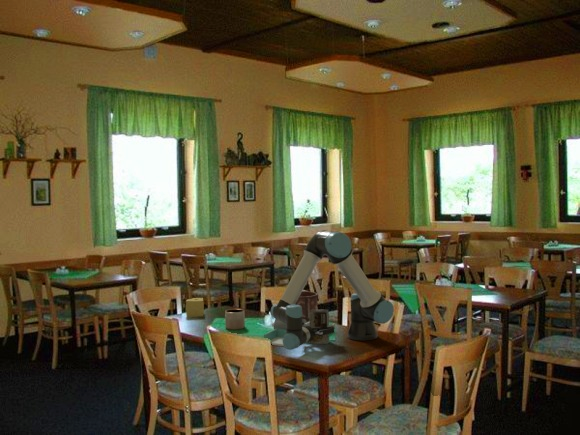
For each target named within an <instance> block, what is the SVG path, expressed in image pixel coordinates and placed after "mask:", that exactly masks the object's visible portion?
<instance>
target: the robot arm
mask: <svg viewBox="0 0 580 435" xmlns="http://www.w3.org/2000/svg"><path fill="white" fill-rule="evenodd" d="M352 248H353V247H352V241H351V239H350V237H349V236H348V235H347V234H346V233H343V232H341V231H333V230H332V231H331V230H324V229H323V230H320V231H318V232H316V233H315V234H313V236H312V237H311V238H310V239H309V241H308V242H307V244H306V245H305V248H304V250H303V256H302V258H301V259H300V261H299V264H298V265H297V267H296V269H295V271H294V273H293V274H292V276H291V278H290V280H289V282H288V283H287V286H286V288H285V289H284V291H283V294H282V295H281V297H280V299H279V301H278V303H275V304H273V305H272V306H271V308H270V314H271V316H272V318H273V319H274V320H275V319H276V320H279V321H282V322H284V323H286V335H285V336H284V337H283V345H284V346H283V347H284V348H286V349H287V350H290V351H291V350H294V349H295V350H296V349H298V348H299V347H301V346H303V345H304V344H306V343H308V342H310V340H311V339H312V338H313V337H314V336H315V335H319V336H323V335H326V334H329V335H330V334H331V335H332V334H334V333H335V329H336V323H331V324H329V326H328V327H325V328H318V327H317V328H311V327H310V321H309V322H307V323H305V324H304V323H302V315H303V313H302V307H301V306H300V305H295V304H296V302H297V300H298V298H299V296H300V294H301V292H302V291H304V288H305V287H306V284H308V281H309V279H310V277H311V275H312V274H313V272H314V270H315V267H316V266H317V264H318V262H321V261H322V259H323V258H324V256H326V257H327V258H328V260H329V261H330V262H331V263H332V265H336V266H337V267H338V269H339V271H341V274H343V277H344V278H345V279H346V281H347V282H348V283H349V285H350V286H351V288H352V289H353V291H354V292H355V293H352V294H351V295H350V324H349V327H348V330H347V338H348V339H350V340H353V341H360V342H361V341H363V342H364V341H373V340H375V339H378V331H377V328H376V326H375V323H376V324H381V325H384V324H386V323H388V322H389V321H390V320H391V319H392V318H393V315H394V312H395V308H394V307H395V306H394V305H393V303H392V302H391V301H390V300H388V299H385V297H384V295H383V294H382V293H381V291H379V290H376V288H374V286H373V285H372V283H371V282H370V280H369V279H368V277H367V276H366V274H365V273H364V271H363V269H362V268H361V267H360V265H359V263H358V261H357V260H356V259H355V258H354V256H353V249H352ZM316 329H317V330H316Z"/></svg>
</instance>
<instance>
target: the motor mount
mask: <svg viewBox="0 0 580 435" xmlns="http://www.w3.org/2000/svg"><path fill="white" fill-rule="evenodd" d="M302 323H304V324H305V323H307V321H306V320H305V319H302ZM271 327H272V328H273V329H272V330H269V331H268V332H266V333H264V334H263V339H264V338H268V339H270V340H271V342H272V345H271V346H275V347H277V346H278V347H285V346H284V345H283V337H284V336H285V335H286V323H284V322H282V321H279V320H276V319H275V318H274V322H272V323H271Z"/></svg>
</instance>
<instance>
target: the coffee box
mask: <svg viewBox="0 0 580 435" xmlns="http://www.w3.org/2000/svg"><path fill="white" fill-rule="evenodd" d="M329 311H330V310H329V309H322V308H321V309H318V308H317V309H311V311H310V312H309V321H310V327H311V328H317V327H318V328H325V327H328V326H330V314H329V313H330V312H329ZM316 330H317V329H316ZM329 343H330V334H326V335H323V336H319V335H315V336H314V337H313V338H312V339H311V340H310V341H309V344H314V345H319V344H320V345H328V344H329Z"/></svg>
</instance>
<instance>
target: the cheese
mask: <svg viewBox="0 0 580 435" xmlns="http://www.w3.org/2000/svg"><path fill="white" fill-rule="evenodd" d="M204 313H205V304H204V298H203V297H192V298H188V299H186V301H185V314H186V318H197V317H199V318H201V317H204Z"/></svg>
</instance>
